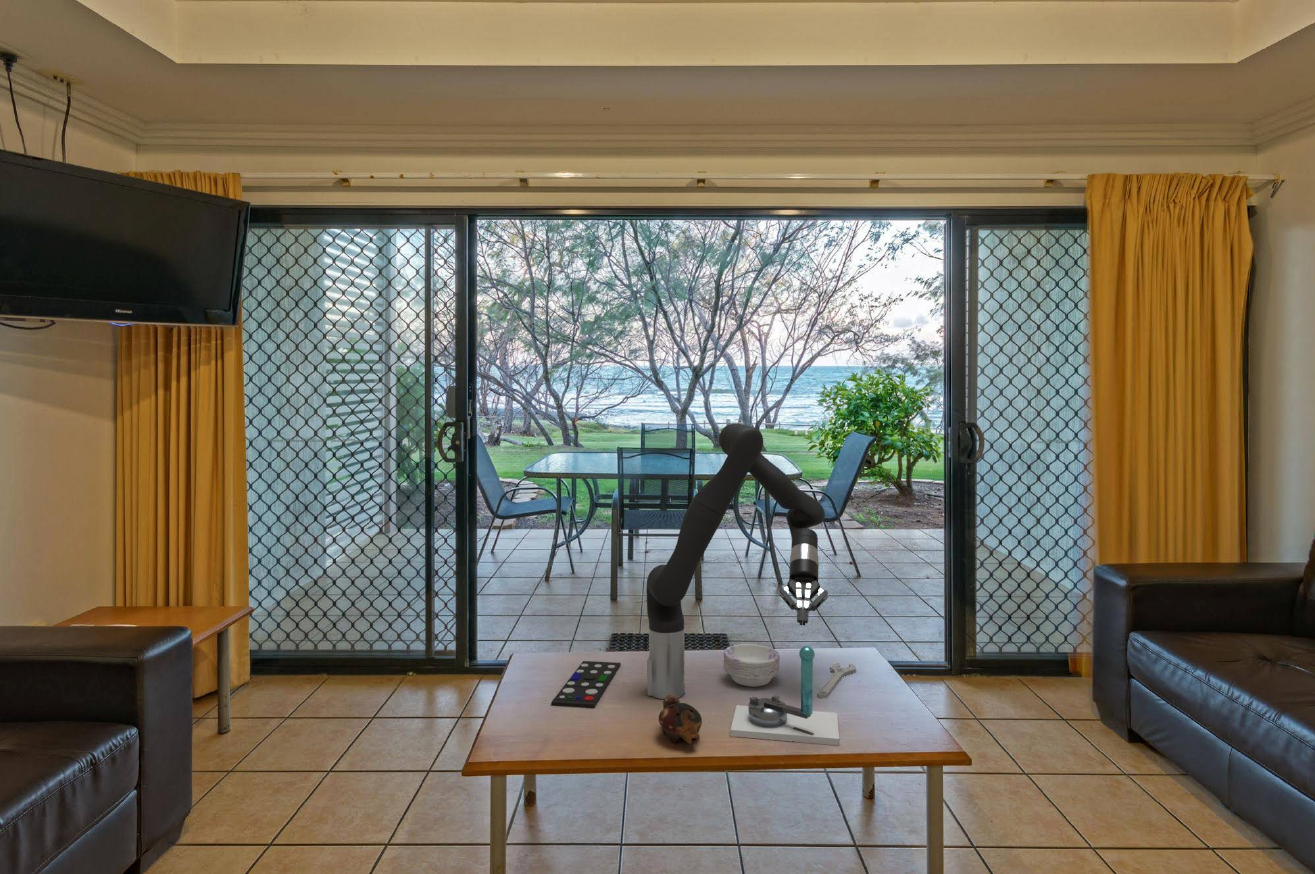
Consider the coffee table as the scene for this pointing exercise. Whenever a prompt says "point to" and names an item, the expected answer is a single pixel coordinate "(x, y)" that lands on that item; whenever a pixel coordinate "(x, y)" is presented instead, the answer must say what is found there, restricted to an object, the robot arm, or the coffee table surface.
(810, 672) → the teal handled crank
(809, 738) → the white rectangular board
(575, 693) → the remote control
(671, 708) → the decorative turtle
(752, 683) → the paper bowls
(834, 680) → the adjustable wrench
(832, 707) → the coffee table surface
